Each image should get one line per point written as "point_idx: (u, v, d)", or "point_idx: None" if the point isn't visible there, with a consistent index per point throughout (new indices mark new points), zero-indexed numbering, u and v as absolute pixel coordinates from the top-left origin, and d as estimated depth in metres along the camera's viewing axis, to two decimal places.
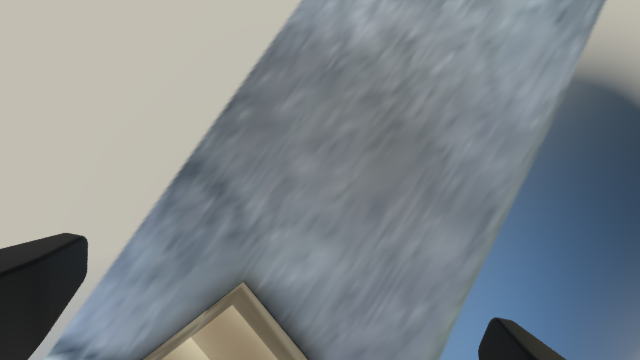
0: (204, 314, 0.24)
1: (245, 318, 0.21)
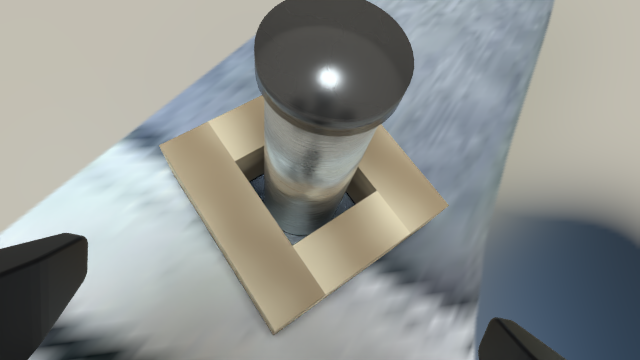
0: None
1: None
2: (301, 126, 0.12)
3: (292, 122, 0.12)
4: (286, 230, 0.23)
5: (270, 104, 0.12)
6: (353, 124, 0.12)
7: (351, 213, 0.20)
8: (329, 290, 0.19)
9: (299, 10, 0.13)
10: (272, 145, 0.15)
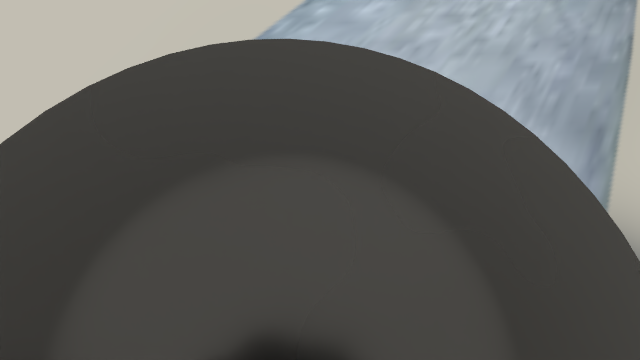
0: None
1: None
2: None
3: None
4: None
5: None
6: None
7: None
8: None
9: (157, 131, 0.03)
10: None
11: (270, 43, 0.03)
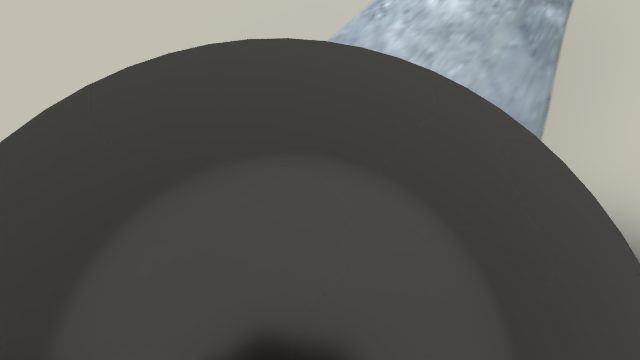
0: None
1: None
2: None
3: None
4: None
5: None
6: None
7: None
8: None
9: (155, 129, 0.03)
10: None
11: (269, 43, 0.03)
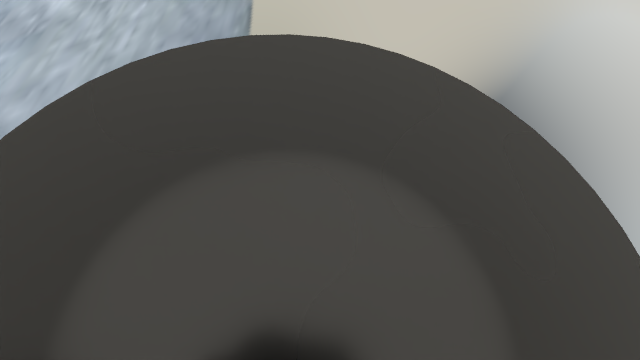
0: None
1: None
2: None
3: None
4: None
5: None
6: None
7: None
8: None
9: (157, 125, 0.03)
10: None
11: (271, 39, 0.03)
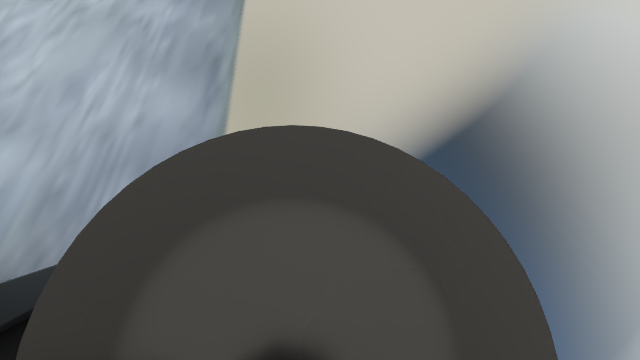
0: None
1: None
2: None
3: None
4: None
5: None
6: None
7: None
8: None
9: (203, 198, 0.04)
10: None
11: (280, 130, 0.05)
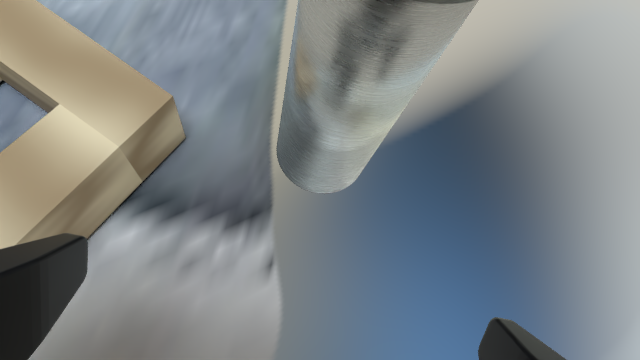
0: None
1: None
2: None
3: None
4: (301, 185, 0.18)
5: None
6: None
7: (20, 145, 0.14)
8: None
9: None
10: (306, 42, 0.11)
11: None
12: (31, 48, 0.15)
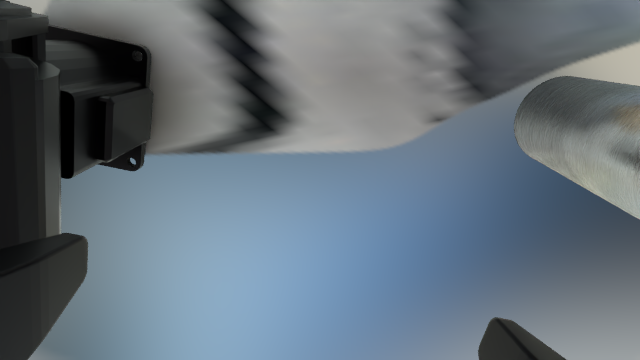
0: None
1: None
2: None
3: None
4: (517, 118, 0.20)
5: None
6: None
7: None
8: None
9: None
10: None
11: None
12: None
